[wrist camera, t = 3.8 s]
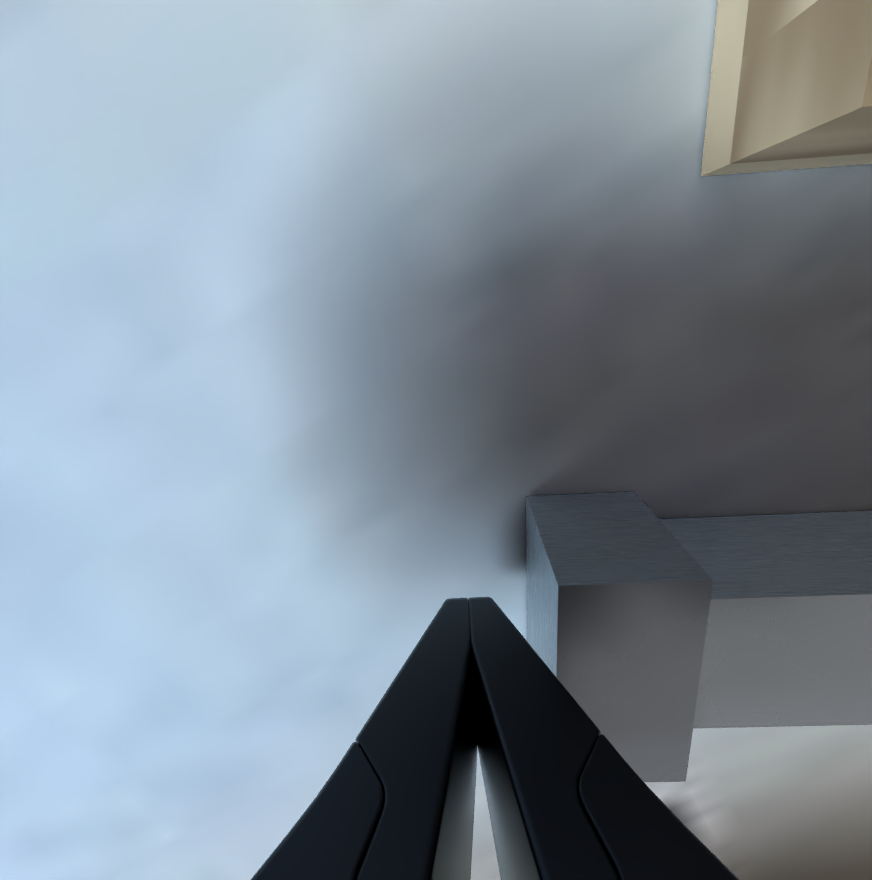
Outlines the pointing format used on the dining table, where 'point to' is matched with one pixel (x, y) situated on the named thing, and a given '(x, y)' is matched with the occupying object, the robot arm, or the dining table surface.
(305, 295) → the dining table surface
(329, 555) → the dining table surface
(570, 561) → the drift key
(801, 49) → the rack
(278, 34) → the dining table surface
